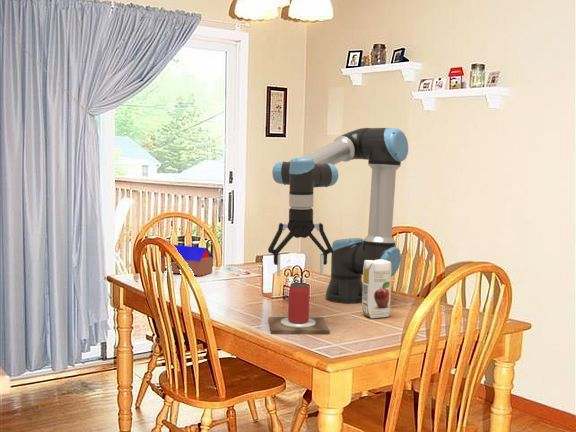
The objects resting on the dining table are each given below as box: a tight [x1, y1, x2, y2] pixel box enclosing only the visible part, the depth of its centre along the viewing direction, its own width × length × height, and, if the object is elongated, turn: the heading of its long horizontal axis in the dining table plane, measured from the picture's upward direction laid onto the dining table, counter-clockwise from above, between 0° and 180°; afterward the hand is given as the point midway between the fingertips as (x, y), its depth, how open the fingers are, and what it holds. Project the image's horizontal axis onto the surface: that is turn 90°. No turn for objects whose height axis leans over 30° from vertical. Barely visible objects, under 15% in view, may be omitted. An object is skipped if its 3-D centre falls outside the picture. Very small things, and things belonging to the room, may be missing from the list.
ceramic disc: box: [281, 318, 316, 328], centre depth 217 cm, size 11×11×1 cm
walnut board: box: [267, 316, 331, 335], centre depth 217 cm, size 18×16×1 cm
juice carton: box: [361, 259, 392, 319], centre depth 233 cm, size 8×9×19 cm
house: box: [160, 244, 214, 277], centre depth 304 cm, size 12×20×12 cm, turn 65°
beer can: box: [287, 282, 310, 324], centre depth 216 cm, size 7×7×12 cm
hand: (300, 275), depth 215 cm, fingers open, 13 cm apart
